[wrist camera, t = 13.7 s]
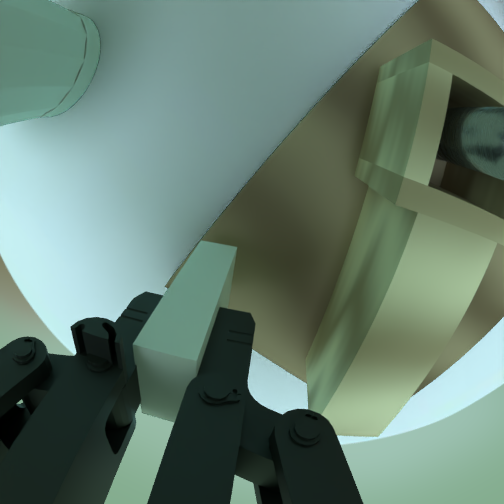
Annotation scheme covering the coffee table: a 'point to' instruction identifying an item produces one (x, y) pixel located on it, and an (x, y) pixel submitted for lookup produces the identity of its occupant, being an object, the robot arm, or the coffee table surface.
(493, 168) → the pin
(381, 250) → the link
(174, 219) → the coffee table surface
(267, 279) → the board
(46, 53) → the cup
